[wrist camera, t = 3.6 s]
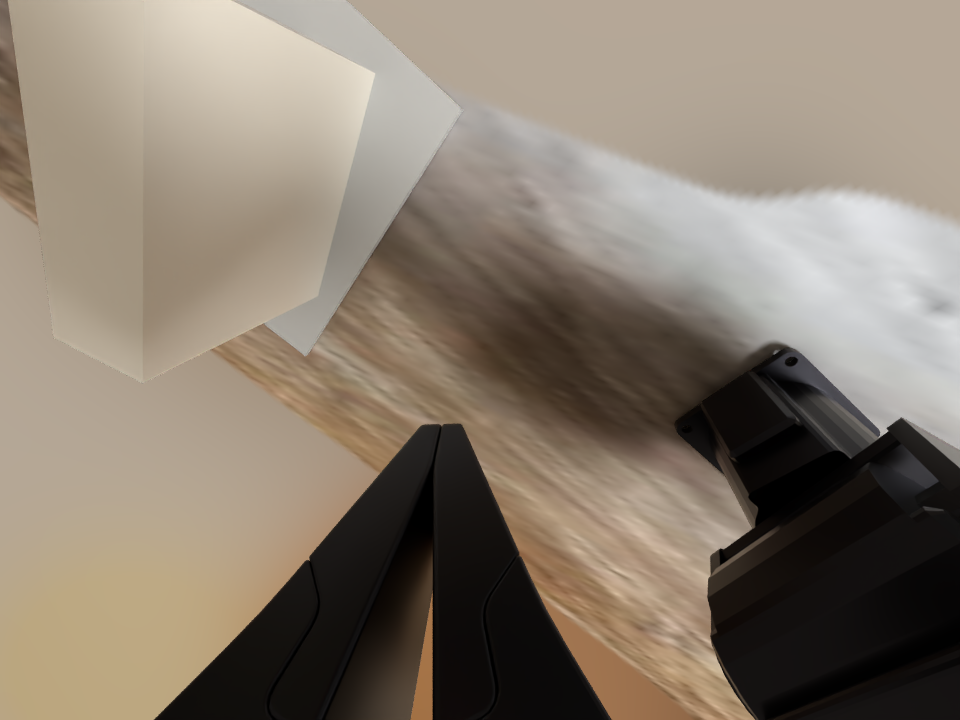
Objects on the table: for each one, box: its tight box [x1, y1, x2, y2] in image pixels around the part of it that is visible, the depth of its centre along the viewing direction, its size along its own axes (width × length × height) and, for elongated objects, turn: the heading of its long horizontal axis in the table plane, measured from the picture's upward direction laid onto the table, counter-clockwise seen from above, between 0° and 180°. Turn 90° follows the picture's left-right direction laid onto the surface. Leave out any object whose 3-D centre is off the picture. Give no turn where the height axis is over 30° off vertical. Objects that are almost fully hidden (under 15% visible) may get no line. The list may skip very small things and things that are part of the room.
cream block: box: [8, 0, 375, 383], centre depth 14 cm, size 4×11×10 cm, turn 155°
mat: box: [238, 0, 463, 356], centre depth 19 cm, size 18×16×1 cm
